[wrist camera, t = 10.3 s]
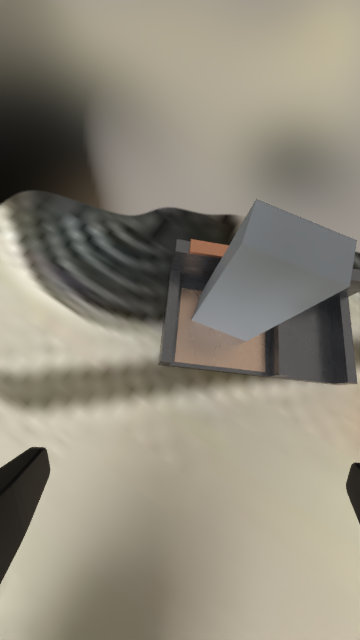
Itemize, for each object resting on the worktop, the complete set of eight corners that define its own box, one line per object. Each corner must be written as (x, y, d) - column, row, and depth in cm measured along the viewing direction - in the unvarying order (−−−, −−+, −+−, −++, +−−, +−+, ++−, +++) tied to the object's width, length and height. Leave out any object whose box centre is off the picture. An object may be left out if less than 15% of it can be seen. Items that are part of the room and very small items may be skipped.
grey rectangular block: (246, 341, 22) (349, 286, 11) (191, 320, 22) (242, 243, 11) (253, 314, 23) (357, 238, 12) (200, 293, 23) (257, 196, 12)
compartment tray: (337, 384, 23) (392, 381, 18) (158, 364, 21) (164, 354, 16) (329, 295, 26) (376, 270, 20) (169, 270, 24) (177, 236, 19)
